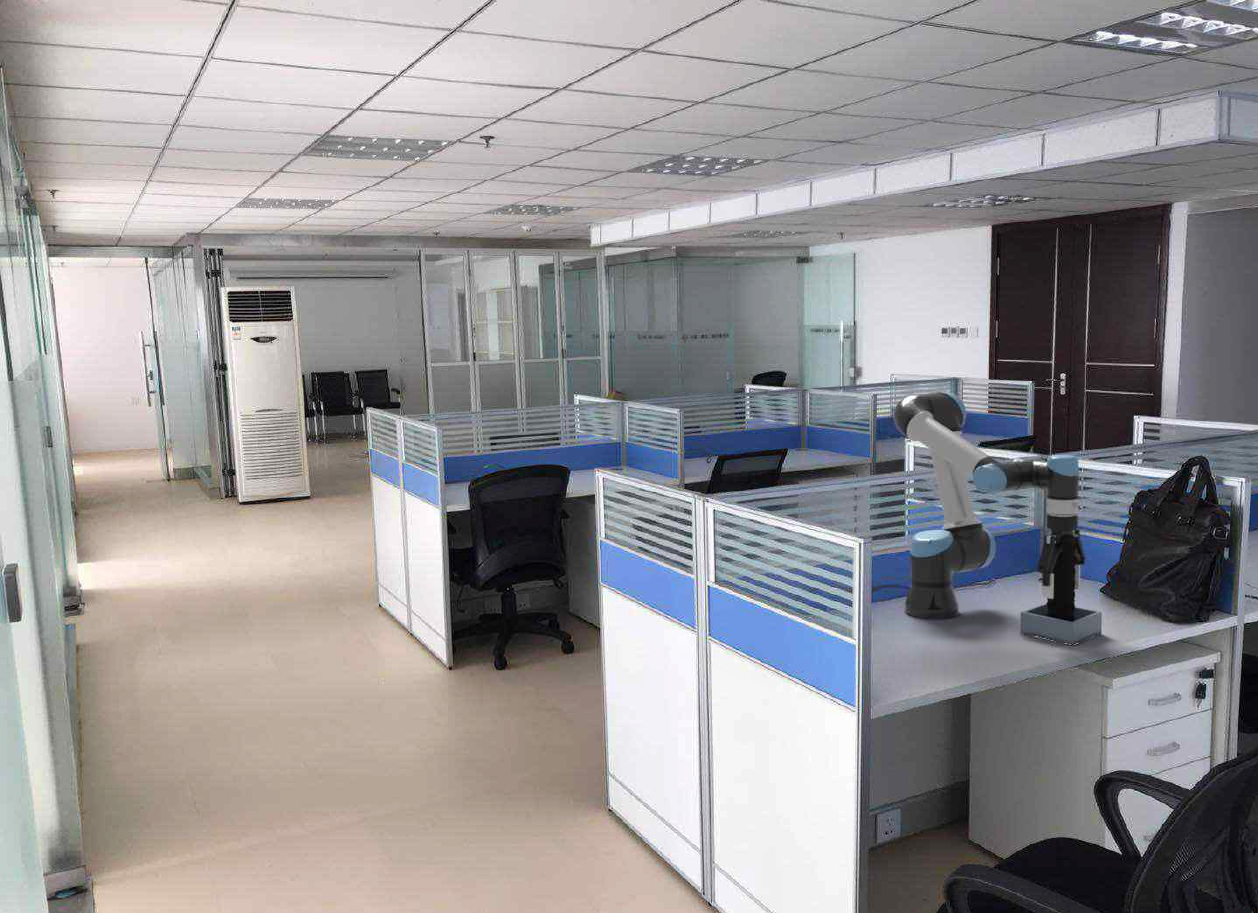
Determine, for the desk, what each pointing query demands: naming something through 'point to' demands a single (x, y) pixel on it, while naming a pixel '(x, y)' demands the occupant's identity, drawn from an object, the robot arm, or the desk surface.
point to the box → (1061, 625)
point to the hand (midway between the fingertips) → (1061, 592)
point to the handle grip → (1064, 582)
